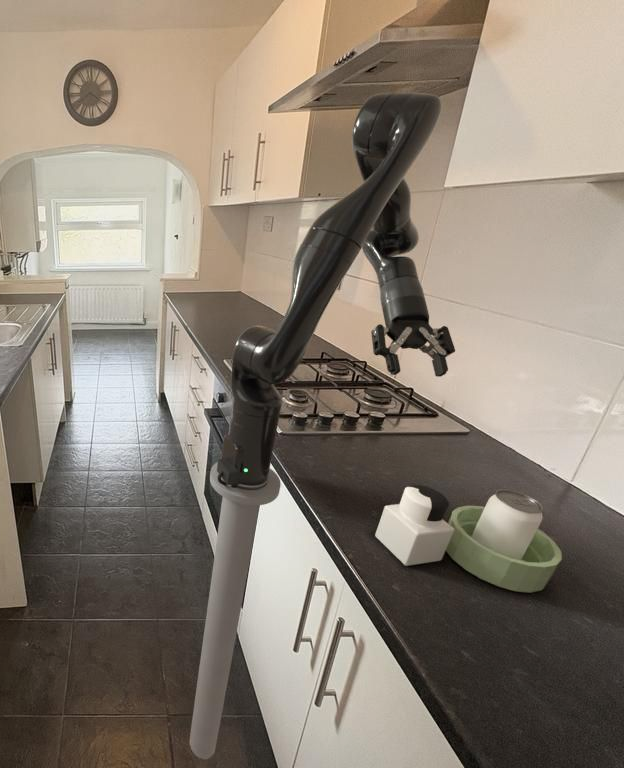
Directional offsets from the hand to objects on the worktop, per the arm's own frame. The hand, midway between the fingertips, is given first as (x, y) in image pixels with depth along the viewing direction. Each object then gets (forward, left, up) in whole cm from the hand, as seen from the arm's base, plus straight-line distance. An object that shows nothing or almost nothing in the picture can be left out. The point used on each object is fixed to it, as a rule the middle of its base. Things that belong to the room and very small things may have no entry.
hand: (418, 374), depth 82 cm
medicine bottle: (-13, -18, -25) cm, 33 cm away
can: (-1, -23, -24) cm, 34 cm away
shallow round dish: (-1, -24, -25) cm, 34 cm away
